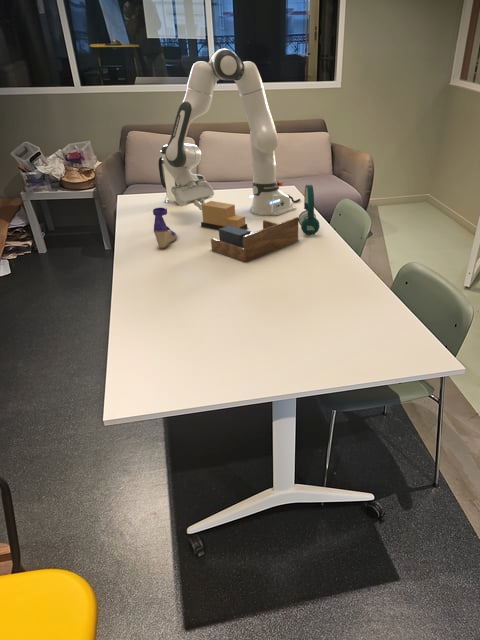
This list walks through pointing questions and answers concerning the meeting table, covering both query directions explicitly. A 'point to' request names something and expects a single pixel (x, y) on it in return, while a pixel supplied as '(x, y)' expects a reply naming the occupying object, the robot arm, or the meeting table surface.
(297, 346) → the meeting table surface
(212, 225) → the tan stepped block
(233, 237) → the dark grey block
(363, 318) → the meeting table surface
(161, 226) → the purple and beige piece
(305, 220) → the headphones
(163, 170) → the coffee press
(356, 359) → the meeting table surface
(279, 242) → the wooden corner tray
